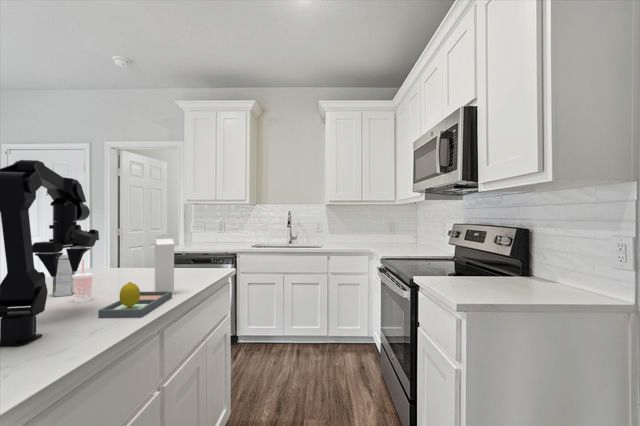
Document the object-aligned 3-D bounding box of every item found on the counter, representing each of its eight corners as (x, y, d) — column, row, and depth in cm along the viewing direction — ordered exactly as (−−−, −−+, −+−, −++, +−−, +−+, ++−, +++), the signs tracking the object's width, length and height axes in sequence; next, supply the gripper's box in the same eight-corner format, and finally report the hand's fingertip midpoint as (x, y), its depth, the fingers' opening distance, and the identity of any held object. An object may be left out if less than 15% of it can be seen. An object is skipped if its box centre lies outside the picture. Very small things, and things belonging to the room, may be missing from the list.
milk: (154, 293, 131) (154, 235, 131) (171, 291, 134) (171, 234, 135) (156, 296, 126) (156, 235, 126) (174, 294, 129) (174, 235, 129)
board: (141, 317, 101) (141, 309, 101) (98, 317, 100) (98, 310, 100) (171, 297, 125) (171, 291, 125) (137, 297, 124) (137, 291, 124)
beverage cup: (91, 301, 118) (92, 260, 119) (70, 303, 116) (70, 261, 116) (94, 297, 124) (94, 258, 124) (73, 299, 121) (74, 259, 121)
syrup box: (56, 293, 130) (56, 254, 130) (75, 292, 132) (75, 254, 132) (52, 297, 124) (52, 256, 124) (72, 295, 127) (72, 255, 127)
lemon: (131, 311, 103) (131, 284, 103) (115, 310, 104) (115, 283, 104) (144, 306, 108) (144, 280, 108) (128, 305, 110) (128, 279, 110)
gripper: (72, 222, 94) (72, 279, 94) (110, 220, 113) (109, 268, 113) (29, 222, 94) (29, 280, 94) (74, 220, 112) (74, 269, 112)
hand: (64, 274), depth 103 cm, fingers open, 9 cm apart
